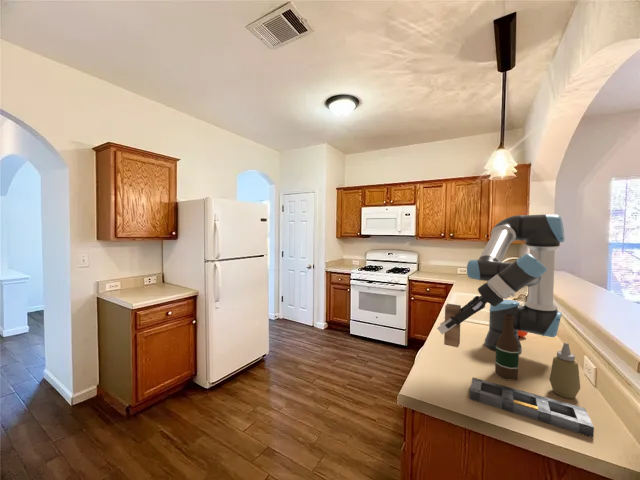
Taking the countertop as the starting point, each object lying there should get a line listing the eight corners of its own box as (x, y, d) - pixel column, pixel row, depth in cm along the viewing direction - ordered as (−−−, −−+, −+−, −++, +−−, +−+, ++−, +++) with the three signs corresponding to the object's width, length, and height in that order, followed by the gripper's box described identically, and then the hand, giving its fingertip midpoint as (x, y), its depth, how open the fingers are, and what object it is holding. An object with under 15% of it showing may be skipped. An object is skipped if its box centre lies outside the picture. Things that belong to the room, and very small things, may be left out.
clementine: (532, 338, 146) (533, 325, 145) (523, 340, 144) (523, 326, 143) (518, 333, 153) (518, 321, 153) (508, 334, 151) (509, 321, 151)
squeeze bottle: (542, 387, 99) (545, 338, 99) (563, 387, 100) (565, 338, 99) (564, 401, 91) (567, 348, 91) (586, 400, 92) (589, 348, 91)
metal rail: (469, 398, 92) (469, 389, 91) (472, 385, 100) (472, 376, 100) (593, 437, 75) (594, 426, 75) (584, 417, 83) (584, 407, 83)
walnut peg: (446, 340, 102) (447, 303, 102) (459, 343, 100) (460, 305, 99) (444, 344, 98) (445, 306, 98) (457, 347, 96) (459, 308, 95)
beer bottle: (511, 382, 102) (514, 319, 101) (490, 372, 109) (492, 313, 108) (522, 377, 106) (525, 316, 105) (501, 368, 113) (503, 311, 112)
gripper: (504, 305, 82) (444, 345, 92) (504, 295, 97) (452, 330, 107) (485, 286, 85) (428, 327, 95) (487, 278, 100) (438, 314, 110)
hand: (441, 329), depth 101 cm, fingers closed on walnut peg, 4 cm apart
